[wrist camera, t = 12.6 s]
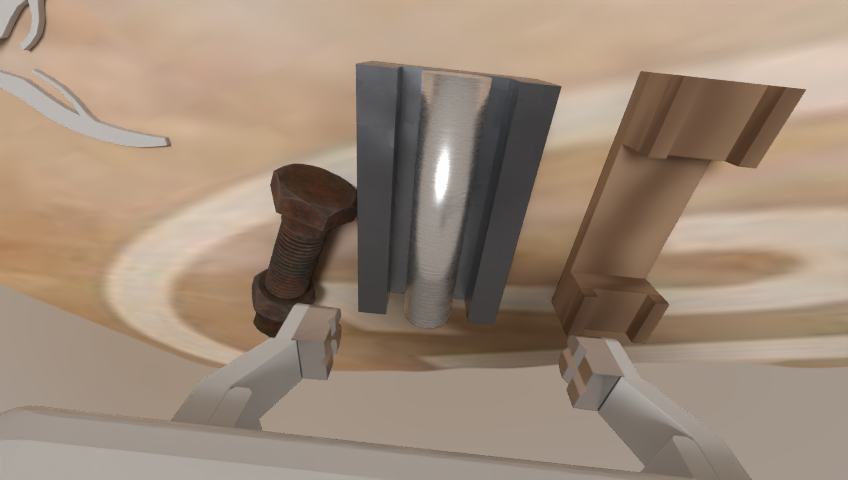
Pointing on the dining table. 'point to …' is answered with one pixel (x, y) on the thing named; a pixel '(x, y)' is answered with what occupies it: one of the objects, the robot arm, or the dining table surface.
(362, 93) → the v block
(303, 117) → the dining table surface
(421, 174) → the axle
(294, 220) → the bolt
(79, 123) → the pliers
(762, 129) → the beam
